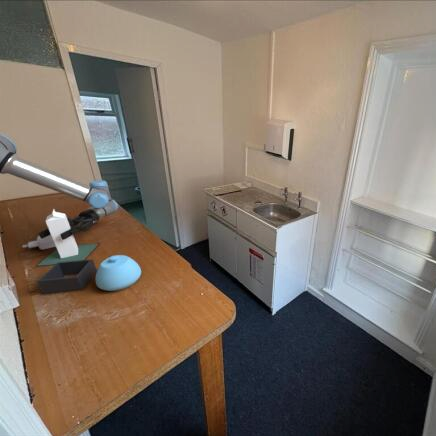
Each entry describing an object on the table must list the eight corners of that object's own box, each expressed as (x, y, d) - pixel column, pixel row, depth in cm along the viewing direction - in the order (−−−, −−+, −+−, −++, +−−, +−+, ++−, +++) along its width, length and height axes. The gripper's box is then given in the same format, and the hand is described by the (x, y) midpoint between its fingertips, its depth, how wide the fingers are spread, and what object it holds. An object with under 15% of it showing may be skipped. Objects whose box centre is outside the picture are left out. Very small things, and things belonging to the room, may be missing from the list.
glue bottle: (25, 247, 113) (66, 237, 122) (24, 255, 107) (67, 244, 116) (20, 238, 111) (63, 229, 120) (19, 246, 105) (64, 236, 115)
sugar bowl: (110, 299, 86) (101, 273, 81) (90, 284, 92) (81, 260, 88) (149, 277, 98) (144, 254, 93) (129, 265, 104) (123, 243, 100)
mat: (37, 266, 100) (36, 265, 100) (59, 247, 114) (59, 246, 114) (81, 262, 104) (81, 261, 104) (97, 244, 118) (97, 243, 118)
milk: (61, 258, 105) (41, 214, 96) (62, 252, 110) (43, 209, 100) (78, 254, 109) (61, 211, 100) (78, 248, 113) (62, 207, 104)
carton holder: (43, 294, 86) (37, 281, 84) (62, 274, 97) (57, 262, 94) (82, 289, 89) (77, 277, 87) (96, 270, 100) (92, 259, 97)
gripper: (114, 222, 122) (79, 245, 102) (73, 220, 122) (29, 242, 101) (110, 209, 119) (73, 229, 99) (68, 207, 119) (22, 227, 98)
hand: (51, 236), depth 100 cm, fingers open, 8 cm apart
